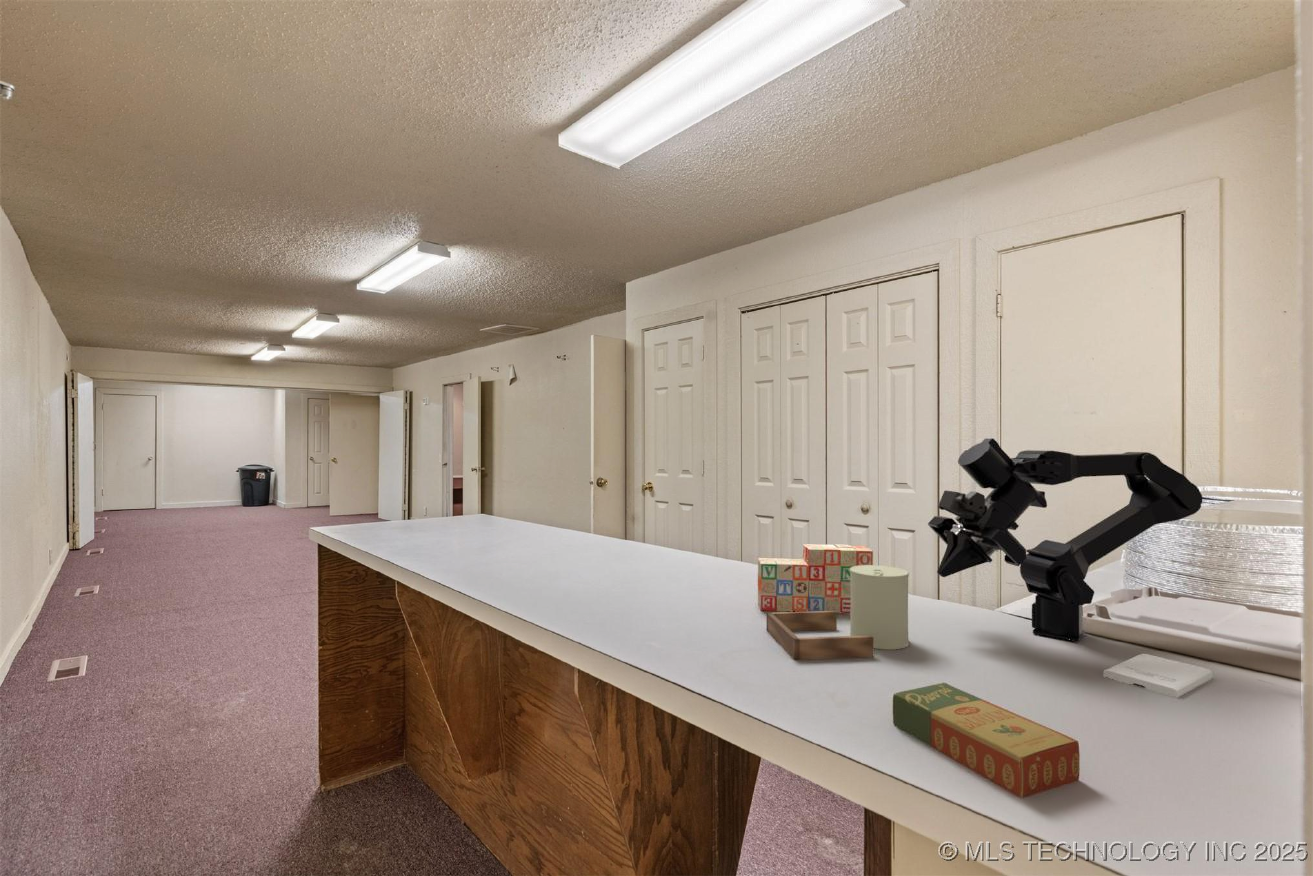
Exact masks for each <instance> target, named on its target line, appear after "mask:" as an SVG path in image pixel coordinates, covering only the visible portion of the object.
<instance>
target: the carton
mask: <svg viewBox="0 0 1313 876" xmlns="http://www.w3.org/2000/svg"><path fill="white" fill-rule="evenodd" d="M892 722H893V726H894V727H896V726H897V727H896V728H898V729H900V730H902V731H903V732H904V733H907V734H909V735H910V736H912V737H914V738H916V739H917V740H919V741H921V742H923V743H924V744H926V745H927V746H930V747H932V748H933V749H935V750H936V751H939V752H940V753H942V754H944V755H945V756H947V757H949V758H950V759H952V760H954V761H956V762H957V763H958V764H960V765H962V766H964V767H966V768H968V769H969V770H971V771H973V772H975V773H976V774H978V775H980V776H981V777H983V778H985V779H986V780H989V781H990V782H992V783H994V784H995V785H998V786H999V787H1001V788H1003V789H1005V790H1007V791H1008V792H1009V793H1011V794H1013V795H1015V796H1017V797H1018V798H1020V799H1024V798H1026V797H1027V798H1028V797H1030V796H1033V795H1037V794H1039V793H1043V792H1046V791H1049V790H1052V789H1055V788H1059V787H1063V786H1065V784H1066V785H1069V784H1072V783H1071V782H1073V783H1075V782H1074V781H1076V782H1079V780H1080V770H1081V769H1080V760H1081V759H1080V757H1081V756H1080V745H1079V741H1078V740H1076V739H1075V738H1072V737H1070V736H1068V735H1066V734H1064V733H1061V732H1059V731H1057V730H1054V729H1052V728H1050V727H1047V726H1045V725H1042V724H1041V723H1037V722H1036V721H1033V720H1031V719H1029V718H1027V717H1024V716H1021V715H1019V714H1016V713H1014V712H1013V711H1011V710H1008V709H1005V708H1003V707H1001V706H998V705H996V704H994V703H991V702H989V701H987V700H984V699H983V698H980V697H978V696H975V695H973V694H971V693H969V692H967V691H964V690H961V689H959V688H957V687H954V686H952V685H951V684H948V683H947V682H941V683H935V684H931V685H926V686H922V687H917V688H914V689H908V690H903V691H898V692H894V693H893V695H892ZM1068 783H1069V784H1068Z"/></svg>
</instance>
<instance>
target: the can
mask: <svg viewBox="0 0 1313 876" xmlns="http://www.w3.org/2000/svg"><path fill="white" fill-rule="evenodd" d="M909 575H910V573H909V571H908V570H906V569H903V568H900V567H895V566H889V565H880V564H879V565H878V564H876V565H875V564H873V565H859V566H853V567H851V568H850V581H851V613H850V628H849V629H850V630H849V631H850V632H849V636H867V635H871V636H873V649H874V648H875V649H874V650H881V651H882V650H885V651H893V650H896V649H897V650H902V649H901V648H903V649H906V648H907V647H909V645H910V640H909ZM905 647H906V648H905Z"/></svg>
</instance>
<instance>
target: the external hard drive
mask: <svg viewBox="0 0 1313 876" xmlns="http://www.w3.org/2000/svg"><path fill="white" fill-rule="evenodd" d="M1105 677H1108V678H1110V679H1109V680H1112V679H1114V680H1113V681H1115V680H1117V681H1116V682H1119V681H1121V682H1120V683H1122V682H1125V683H1124V684H1126V683H1127V684H1126V685H1129V684H1133V685H1135V686H1134V687H1137V686H1140V687H1141V689H1144V688H1145V690H1148V691H1150V692H1154V693H1159V694H1162V695H1166V696H1169V697H1171V698H1176V699H1179V698H1180V697H1182V696H1183V695H1185V694H1187V693H1190V691H1192V690H1194V689H1196V688H1198V687H1199V686H1201V685H1204V684H1205V683H1207V682H1209V681H1211V680H1212V679H1213V671H1212V670H1211V669H1209V668H1205V667H1200V666H1197V665H1193V664H1189V663H1186V662H1182V661H1181V662H1180V661H1177V660H1173V659H1169V658H1165V657H1161V656H1155V655H1153V654H1149V653H1140V654H1138V655H1135V656H1133V657H1132V658H1130V659H1126V660H1125V661H1122V662H1120V663H1118V664H1116V665H1114V666H1111V667H1109V668H1106V669H1104V670H1103V678H1105ZM1108 678H1107V679H1108ZM1133 685H1132V686H1133ZM1140 687H1139V688H1140Z"/></svg>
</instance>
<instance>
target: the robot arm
mask: <svg viewBox="0 0 1313 876" xmlns="http://www.w3.org/2000/svg"><path fill="white" fill-rule="evenodd" d="M1017 453H1018V454H1017V455H1016V456H1015V457H1010V456H1009V455H1008V454H1007V452H1005V451H1004V450H1003V449H1002V447H1001V446H1000V445H999V442H997V441H996V439H995V438H984V439H983V440H982V441H981V442H979V443H977V444H974V445H973V446H971V447H970V448H968V449H965V450H964V451H963V452H961V454H960V455H959V458H958V460H957V463H958V465H959V466H960V467H961V468H962V469H963V470H964V471H965V472H966V473H967V475H968V476H970V478H972V480H973V481H974V482H975V483H976V484H977V485H978V486H979V487H980V488H981V489H992V491H991V492H990V493H989V494H988V495H987V496H986V497H985V495H984V494H982V493H981V492H978V491H973V490H972V491H969V492H968V493H967V494H966V493H961V492H958V491H953V490H944V491H943V493H942V495H941V498H940V500H939V502H938V505H937V508H938V509H940V510H941V511H947V512H948V513H950V514H952V515H955V516H956V517H955V518H952V517H947V516H942V515H938V516H937V515H935V516H933V517H932V519H931V520H930V521H929V522H928V523H927V525H928V527H929V528H930V529H931V530H932V531H933V532H934V533H935V534H936V535H937V536H938V537H939V538H940V539H941V540H942V541H943V542H944V543H945V544H946V548H945V552H944V555H943V556H942V559H941V560H940V561H941V562H940V565H939V567H938V569H937V572H936V573H937V574H938V575H939V576H940V577H942V578H947V577H949V576H951V575H954V574H958V573H960V572H962V571H964V570H967V569H971V568H973V567H976V566H981V565H984V564H985V563H991V562H993V559H992V558H991V556H992V555H993V554H994V553H995V552H996V553H997V552H998V551H1002V552H1003V554H1005V555H1004V562H1005V563H1006V564H1008V565H1011V566H1015V567H1019V572H1020V576H1021V578H1022V579H1023V581H1024V583H1025V585H1026V589H1027V591H1028V592H1029V593H1031V594H1036V595H1035V600H1034V602H1033V603H1032V604H1031V627H1032V634H1034V635H1039V636H1043V635H1046V636H1045V637H1049V636H1050V638H1054V637H1057V638H1056V639H1059V638H1062V639H1061V640H1064V639H1070V640H1074V641H1073V642H1075V641H1079V642H1080V641H1081V639H1082V638H1083V637H1084V636H1085V634H1086V631H1085V630H1083V606H1084V605H1090V604H1091V603H1092V601H1093V598H1094V595H1095V591H1094V589H1093V588H1091V586H1090V585H1089V584H1088V583H1087V582H1086V581H1085V579H1086V577H1087V574H1088V570H1089V569H1090V567H1091V565H1093V564H1095V563H1096V562H1098V561H1099V560H1100V559H1102V558H1104V557H1106V556H1107V555H1109V554H1110V553H1112V552H1114V551H1115V550H1116V549H1118V548H1121V546H1123V545H1125V544H1126V543H1128V542H1130V541H1131V540H1133V539H1134V538H1136V537H1138V536H1139V535H1141V534H1143V533H1144V532H1146V531H1147V530H1149V529H1151V528H1152V527H1153V526H1156V525H1159V524H1165V523H1170V522H1175V521H1180V520H1183V519H1185V518H1187V517H1191V516H1193V515H1195V514H1196V513H1197V512H1199V511H1200V510H1201V509H1202V504H1203V499H1204V498H1203V495H1202V492H1200V489H1199V488H1198V486H1197V485H1196V484H1194V483H1193V482H1191V481H1190V480H1189V478H1187V477H1186V476H1185V475H1184V474H1182V473H1180V472H1178V471H1177V470H1176V469H1173V467H1170V466H1169V465H1167V464H1165V463H1164V462H1163V461H1162V460H1161V459H1160V458H1159V457H1158V456H1156V455H1155V454H1153V453H1151V452H1146V451H1142V452H1141V451H1126V452H1123V453H1104V454H1074V453H1070V452H1063V451H1057V450H1038V449H1037V450H1031V449H1029V450H1028V449H1027V450H1021V451H1020V452H1017ZM1107 476H1108V477H1109V476H1111V477H1112V476H1114V477H1115V476H1124V478H1125V482H1126V485H1127V488H1128V490H1129V491H1131V492H1132V493H1131V494H1130V499H1129V502H1128V504H1126V505H1125V506H1124V507H1122V508H1121V509H1119V510H1117V511H1115V512H1114V513H1112V514H1111V515H1109V516H1107V517H1105V518H1104V519H1103V520H1101V521H1099V522H1098V523H1096V524H1094V525H1093V526H1091V527H1089V528H1087V529H1086V530H1084V531H1083V532H1081V533H1080V534H1078V535H1076V536H1075V537H1073V538H1071V539H1070V540H1068V541H1066V542H1065V543H1063V542H1059V541H1058V542H1057V541H1054V540H1049V539H1044V540H1043V541H1041V542H1039V543H1038V545H1036V546H1035V547H1032V548H1031V549H1030V548H1029V549H1026V548H1025V546H1023V544H1022V543H1021V542H1020V541H1019V540H1018V539H1017V538H1016V536H1014V535H1013V534H1012V533H1011V532H1010V530H1012V531H1016V530H1017V529H1018V527H1019V526H1020V525H1019V524H1018V523H1017V522H1016V521H1018V519H1019V518H1020V517H1021V516H1022V515H1023V514H1024V513H1025V512H1026V511H1027V510H1028V509H1029V507H1030V506H1031V507H1037V508H1044V509H1046V508H1047V507H1048V502H1047V500H1046V497H1045V496H1046V492H1045V491H1043V490H1037V489H1036V488H1035V487H1034V486H1033V484H1036V485H1047V486H1056V485H1059V484H1064V483H1065V484H1066V483H1068V482H1072V481H1073V480H1075V479H1079V478H1083V477H1085V478H1086V477H1107ZM955 520H956V521H957V522H956V521H955ZM959 524H961V525H959ZM1081 637H1082V638H1081ZM1080 638H1081V639H1080ZM1070 640H1069V641H1070Z"/></svg>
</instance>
